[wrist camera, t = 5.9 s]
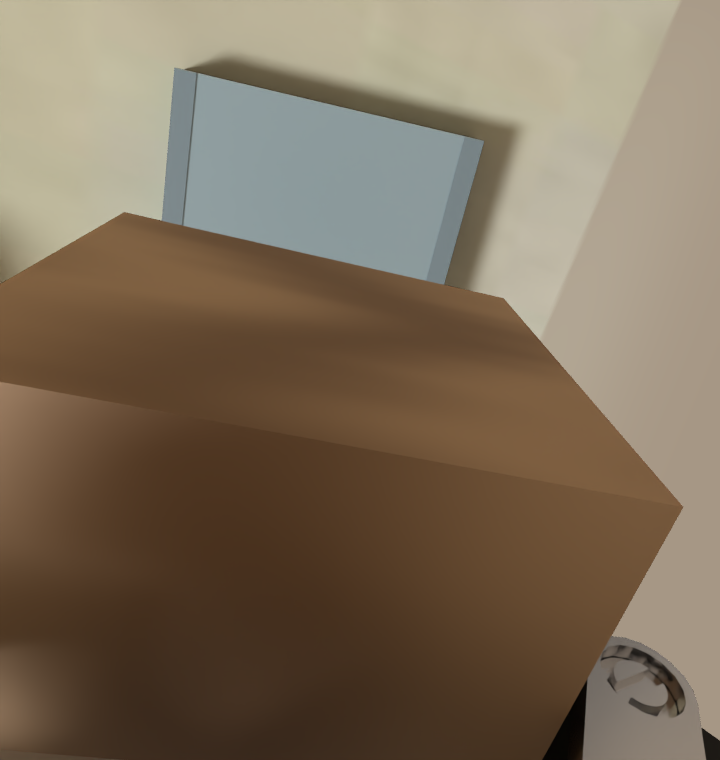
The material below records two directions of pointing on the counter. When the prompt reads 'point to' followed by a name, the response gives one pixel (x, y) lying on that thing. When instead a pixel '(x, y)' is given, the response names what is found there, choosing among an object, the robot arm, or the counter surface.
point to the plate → (315, 177)
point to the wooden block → (296, 510)
